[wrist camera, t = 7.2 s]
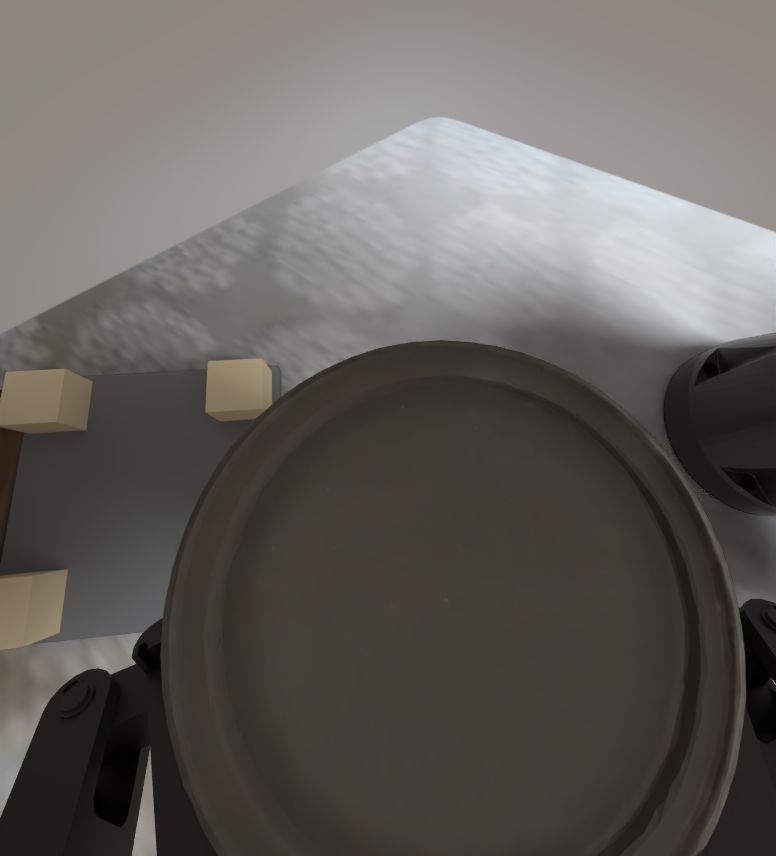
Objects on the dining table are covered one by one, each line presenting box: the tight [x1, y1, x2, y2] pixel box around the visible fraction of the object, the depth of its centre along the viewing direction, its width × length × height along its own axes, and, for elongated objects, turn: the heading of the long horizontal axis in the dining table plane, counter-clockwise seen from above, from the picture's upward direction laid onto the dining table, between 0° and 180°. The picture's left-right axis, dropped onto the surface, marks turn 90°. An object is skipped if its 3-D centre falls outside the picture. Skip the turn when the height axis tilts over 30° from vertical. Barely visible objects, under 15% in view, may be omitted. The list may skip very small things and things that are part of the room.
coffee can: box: [161, 340, 746, 856], centre depth 13 cm, size 10×10×14 cm
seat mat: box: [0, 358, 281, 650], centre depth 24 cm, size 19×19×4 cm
